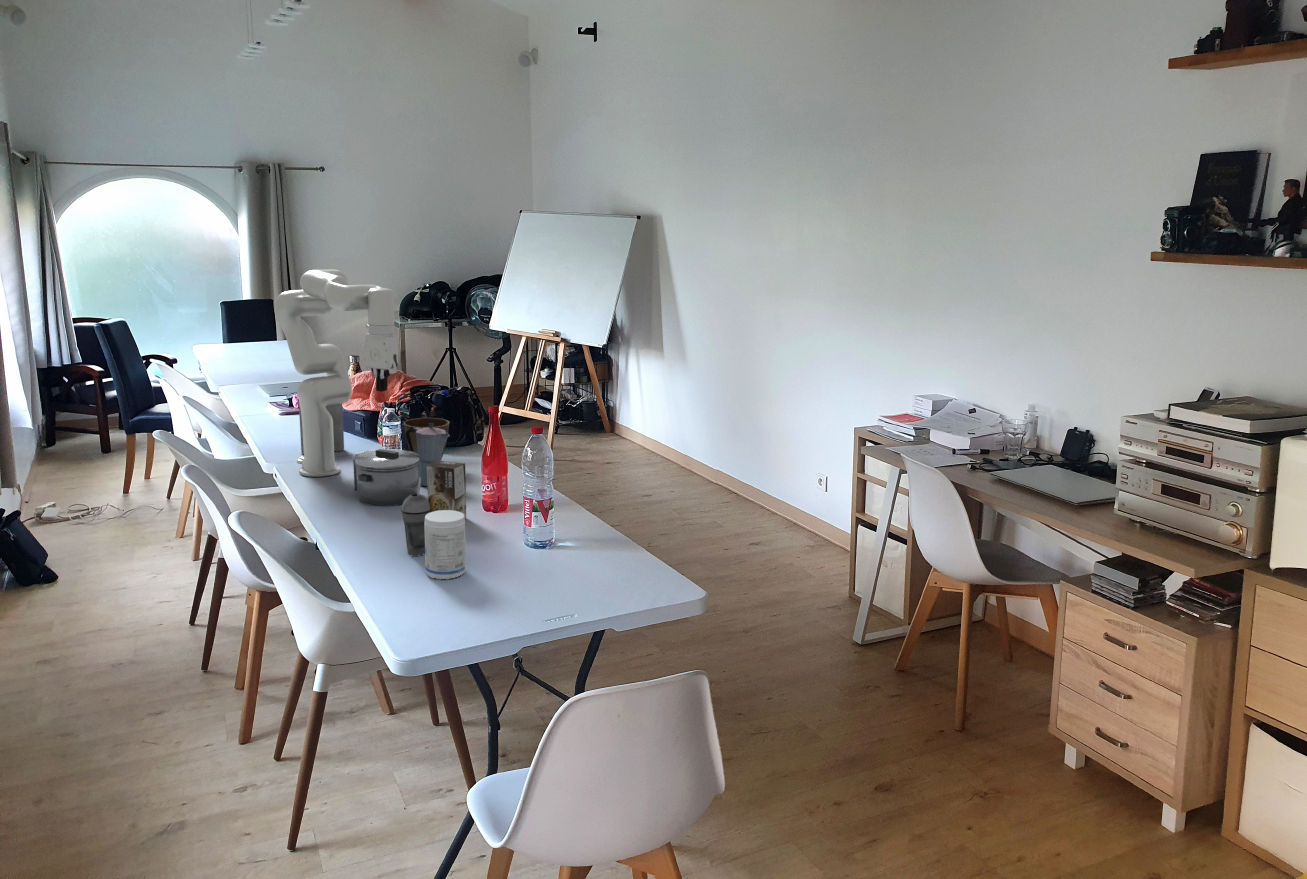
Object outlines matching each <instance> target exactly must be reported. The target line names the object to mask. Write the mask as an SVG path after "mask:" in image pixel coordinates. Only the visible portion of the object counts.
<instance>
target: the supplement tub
mask: <svg viewBox="0 0 1307 879" xmlns="http://www.w3.org/2000/svg"><path fill="white" fill-rule="evenodd" d="M465 519H466V518H465V517H464V514H463V513H461V512H459V511H453V510H439V511H434V512H430V513H428V514H427V515H426V516H425V522H424V523H425V524H424V526H425V555H424V559H425V560H424V563H425V565H424V567H425V570H424V571H425V574H426V575H427V576H428V577H429V578H432V579H434V578H436V579H435V580H441V579H446V580H450V579H449V578H454V579H456V578H455V577H457V578H459V577H458V576H460V575H461V576H463V575H464V574H465V573H466V520H465ZM463 573H464V574H463ZM462 574H463V575H462ZM461 576H460V577H461Z"/></svg>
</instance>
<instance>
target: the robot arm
mask: <svg viewBox="0 0 1307 879" xmlns="http://www.w3.org/2000/svg"><path fill="white" fill-rule="evenodd" d="M299 285H300V288H301V289H292V290H287V291H283V292H280V294H278V296H277V297H276V299H275V302H274V313H275V316H276V320H277V322H278V324H279V326H280V328H281V329H282V331H283V333H284V336H285V339H286V342H287V346H288V350H289V353H290V356H291V359H292V360H291V361H292V363H293V365H294V368H295V371H296V372H297V373H298V374H300V375H304V376H305V375H306V376H309V375H318V374H326V376H325V375H324V376H316V377H314V376H313V377H309V378H306V379H303V380H302V381H300V383H299V384H298V385H297V389H296V395H297V399H298V402H299V405H300V408H301V415H302V428H303V447H304V455H303V456H300V457H299V458H298V459H297V461H296V463H297V464H299V465H302V466H301V468H300V469H299V474H300V475H302V476H304V477H311V478H312V477H313V478H317V477H318V478H320V477H329V476H333V475H334V476H335V475H337V474H339V473H341V468H340V467H339V466H338V465H336V463H335V462H336V461H335V460H336V459H335V452H334V435H333V419H332V416H331V415H330V413H329V412H328V411H327V409H326V407H325V406H328V405H334V404H340V403H342V404H345V403H346V402H348V401H350V400H351V398H352V396H353V385H352V383H351V379H350V375H349V372H348V369H347V364H346V362H345V358H344V356H343V353H342V351H341V350H340V348H339V347H338V346H337V345H335V344H333V343H319V344H318V342H317V341H316V339H315V335H314V332H313V329H312V328H311V327H310V326H309V324H307V322H306V321H304V320H303V319H302V318H301V317H313V316H325V315H327V314H329V313H331V312H332V311H333V310H334V309H336V310H339V311H344V312H354V311H367V324H366V326H365V328H366V329H367V333H366V334H365V336H364V342H363V351H362V352H363V353H362V354H363V356H362V357H363V358H362V364H363V366H364V367H366V369H367V370H368V371H371V373H372V374H373V377H374V378H375V392H380V393H381V392H386V391H388V379H389V378H390V376H391V375H392V374H397V373H398V370H397V368H398V367H399V346H398V341H397V336H396V335H395V292H394V290H393V289H391V288H386V287H381V286H379V285H376V284H350V285H349V280H348V278H347V275H346V273H344V272H343V271H341V270H339V269H328V268H327V269H311V270H308V271H306V272H305V273H303V274H302V276H300V280H299Z"/></svg>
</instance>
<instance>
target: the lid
mask: <svg viewBox="0 0 1307 879" xmlns="http://www.w3.org/2000/svg"><path fill="white" fill-rule="evenodd" d="M354 459H355V464H356V465H357V466H359V467H363V468H368V469H399V468H405V467H410V466H413V465H415V464H417V463H419V454H417V453H415V452H411V451H410V450H405V449H382V448H379V449H375V450H370V451H368V450H367V451H364V452H360V453H357V454H355V457H354Z"/></svg>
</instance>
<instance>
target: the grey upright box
mask: <svg viewBox="0 0 1307 879" xmlns="http://www.w3.org/2000/svg"><path fill="white" fill-rule="evenodd" d="M325 407H326V409H327V411H328V412H329V413H330V415H331V416H332V419H333V435H334V451H340V452H343V451H345V437H344V435H345V434H344V433H345V432H344V416H343V415H344V411H343V403H340V404H334V405H328V406H325ZM298 412H299V413H298V414H299V415H298V416H299V429H300V430H299V432H300V450H301V452H300V453H301V454H302V455H303V454H304V447H303V428H302V415H301V408H300V404H299V405H298ZM342 450H343V451H342Z"/></svg>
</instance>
